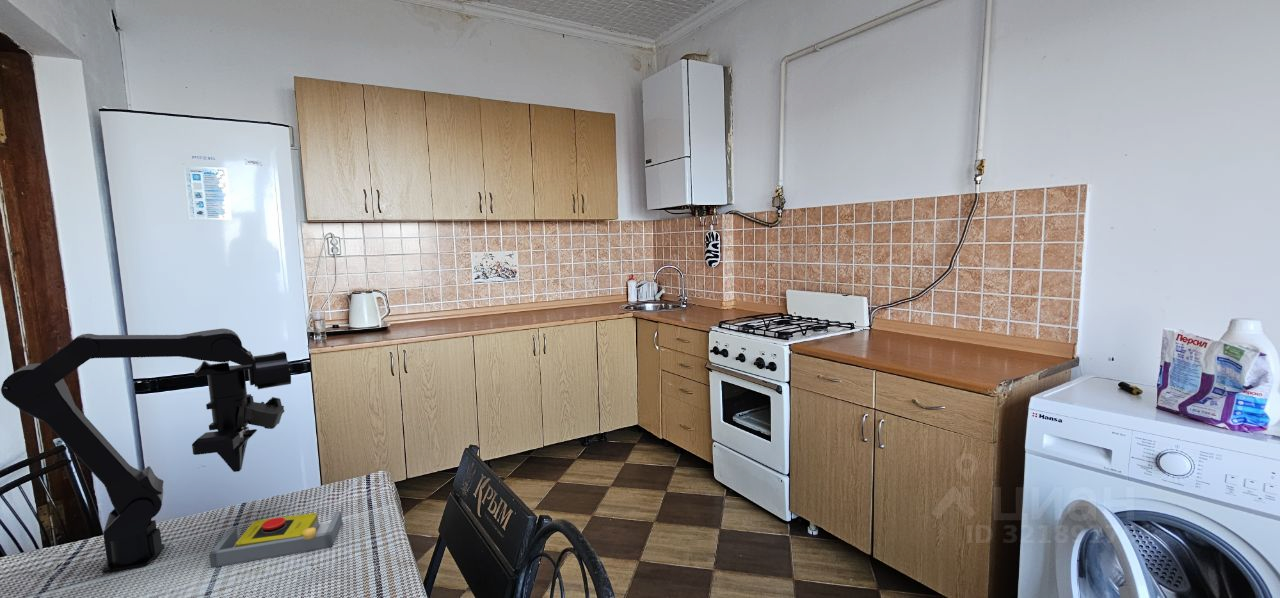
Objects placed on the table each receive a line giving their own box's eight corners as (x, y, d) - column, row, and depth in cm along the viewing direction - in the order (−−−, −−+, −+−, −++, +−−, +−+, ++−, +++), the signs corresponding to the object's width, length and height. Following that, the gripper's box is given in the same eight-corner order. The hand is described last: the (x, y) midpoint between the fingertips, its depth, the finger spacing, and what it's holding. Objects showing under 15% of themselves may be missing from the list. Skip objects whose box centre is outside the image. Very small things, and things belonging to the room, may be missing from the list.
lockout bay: (209, 569, 96) (207, 549, 95) (231, 540, 105) (229, 522, 104) (331, 548, 101) (329, 529, 101) (342, 522, 110) (340, 505, 110)
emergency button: (245, 515, 106) (330, 504, 110) (247, 536, 107) (332, 525, 111) (222, 540, 97) (315, 528, 101) (224, 563, 98) (317, 550, 102)
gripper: (259, 403, 99) (268, 484, 101) (290, 378, 117) (298, 448, 119) (185, 410, 96) (196, 494, 98) (229, 383, 114) (238, 455, 116)
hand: (237, 470), depth 108 cm, fingers closed
